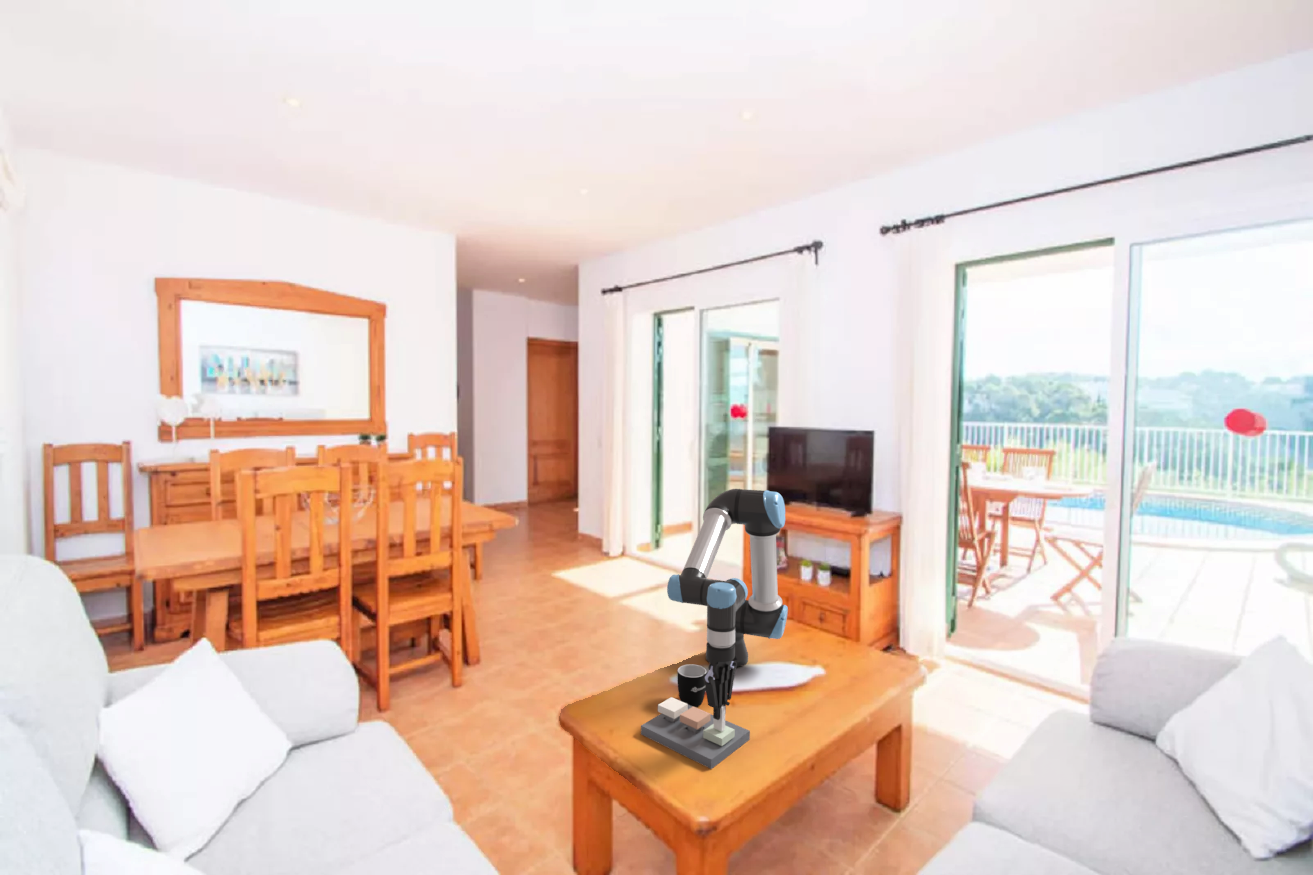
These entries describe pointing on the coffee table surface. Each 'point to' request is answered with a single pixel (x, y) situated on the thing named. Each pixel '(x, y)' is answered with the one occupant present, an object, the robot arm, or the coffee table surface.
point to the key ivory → (672, 709)
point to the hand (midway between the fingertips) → (719, 728)
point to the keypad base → (693, 740)
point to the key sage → (719, 735)
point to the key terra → (695, 719)
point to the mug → (691, 684)
